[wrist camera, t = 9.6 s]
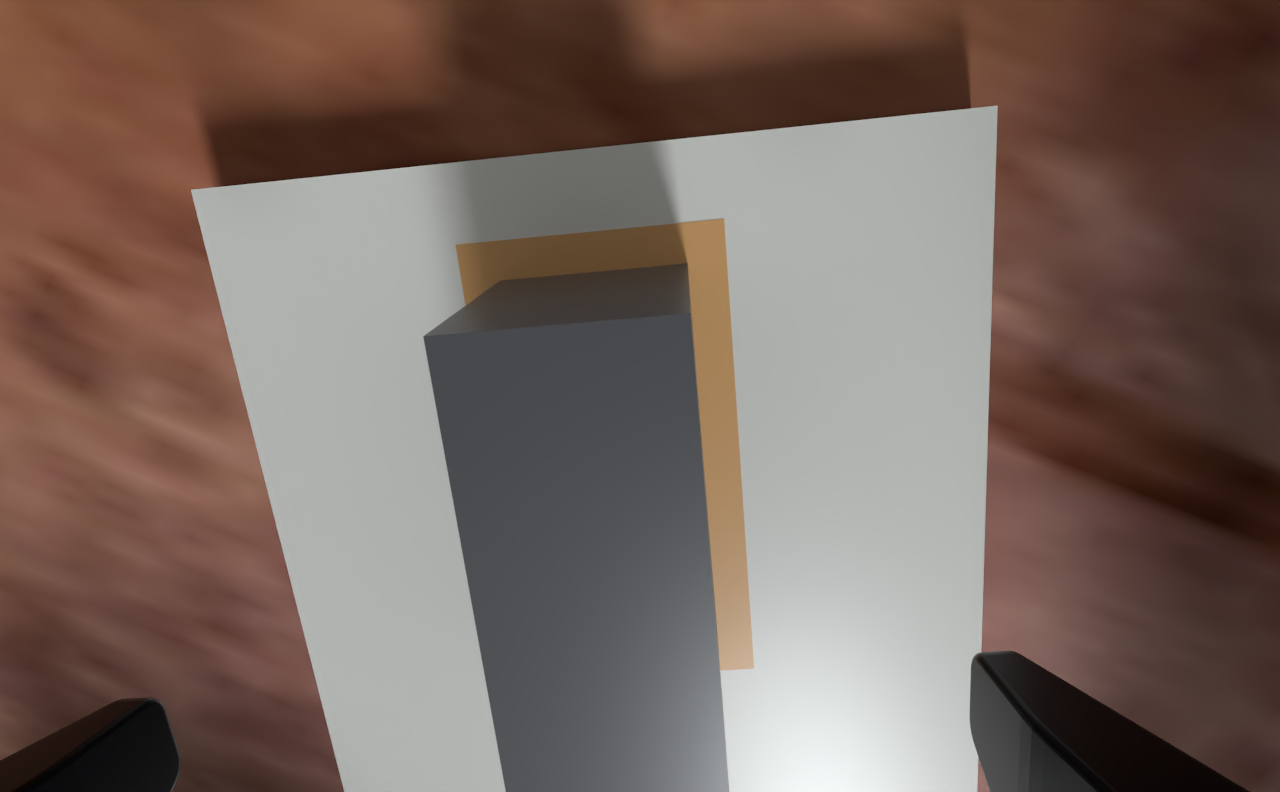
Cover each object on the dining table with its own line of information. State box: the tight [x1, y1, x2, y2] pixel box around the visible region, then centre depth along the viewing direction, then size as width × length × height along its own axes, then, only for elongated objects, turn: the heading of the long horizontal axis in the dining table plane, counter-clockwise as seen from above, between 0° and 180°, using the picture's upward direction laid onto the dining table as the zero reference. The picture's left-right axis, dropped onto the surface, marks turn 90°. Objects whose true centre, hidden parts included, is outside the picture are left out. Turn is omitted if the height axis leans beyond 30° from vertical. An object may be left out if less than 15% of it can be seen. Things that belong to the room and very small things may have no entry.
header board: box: [191, 106, 998, 792], centre depth 16 cm, size 22×14×4 cm, turn 6°
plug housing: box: [423, 263, 729, 792], centre depth 13 cm, size 8×3×4 cm, turn 6°
